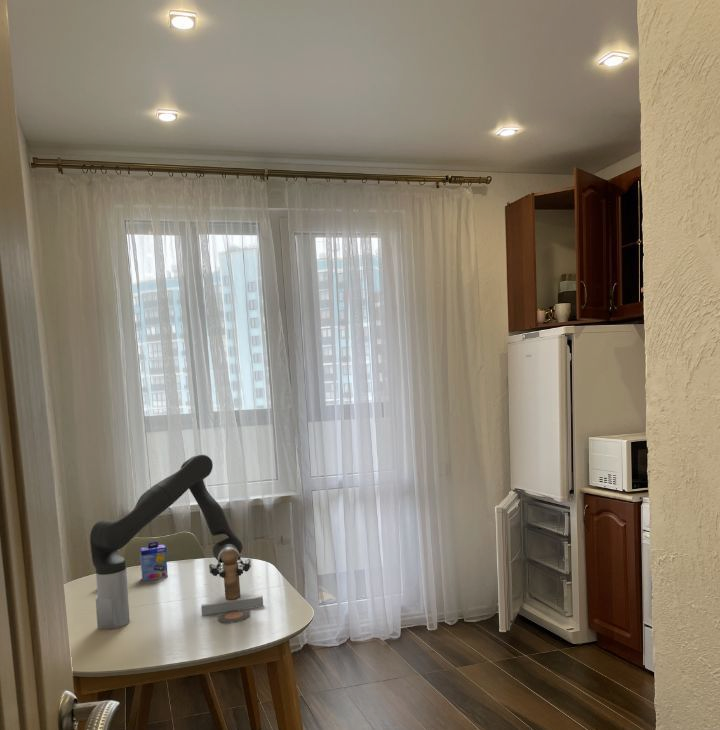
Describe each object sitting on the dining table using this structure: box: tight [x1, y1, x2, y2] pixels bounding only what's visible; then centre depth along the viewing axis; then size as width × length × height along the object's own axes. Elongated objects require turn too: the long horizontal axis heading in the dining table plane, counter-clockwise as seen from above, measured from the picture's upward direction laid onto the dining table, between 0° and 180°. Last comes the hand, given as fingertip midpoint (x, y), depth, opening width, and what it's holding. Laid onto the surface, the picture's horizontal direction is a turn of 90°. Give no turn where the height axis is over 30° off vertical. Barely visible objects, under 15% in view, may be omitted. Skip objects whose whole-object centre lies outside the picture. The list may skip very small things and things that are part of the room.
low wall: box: [200, 595, 264, 616], centre depth 222 cm, size 20×2×3 cm, turn 103°
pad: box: [217, 609, 250, 624], centre depth 215 cm, size 10×10×1 cm
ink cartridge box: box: [139, 540, 169, 582], centre depth 269 cm, size 10×6×14 cm, turn 115°
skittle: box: [221, 549, 241, 601], centre depth 216 cm, size 5×5×16 cm
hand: (231, 573), depth 213 cm, fingers closed on skittle, 4 cm apart
